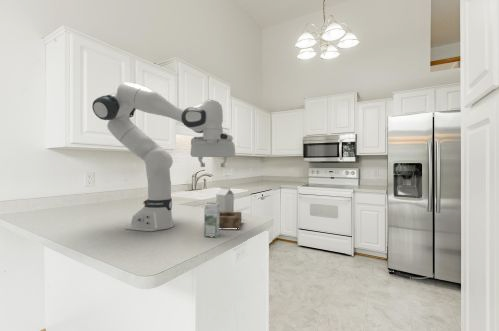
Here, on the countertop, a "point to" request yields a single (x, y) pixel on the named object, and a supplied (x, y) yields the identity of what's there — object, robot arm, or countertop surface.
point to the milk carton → (225, 199)
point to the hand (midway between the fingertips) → (212, 167)
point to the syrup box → (211, 219)
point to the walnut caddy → (229, 219)
